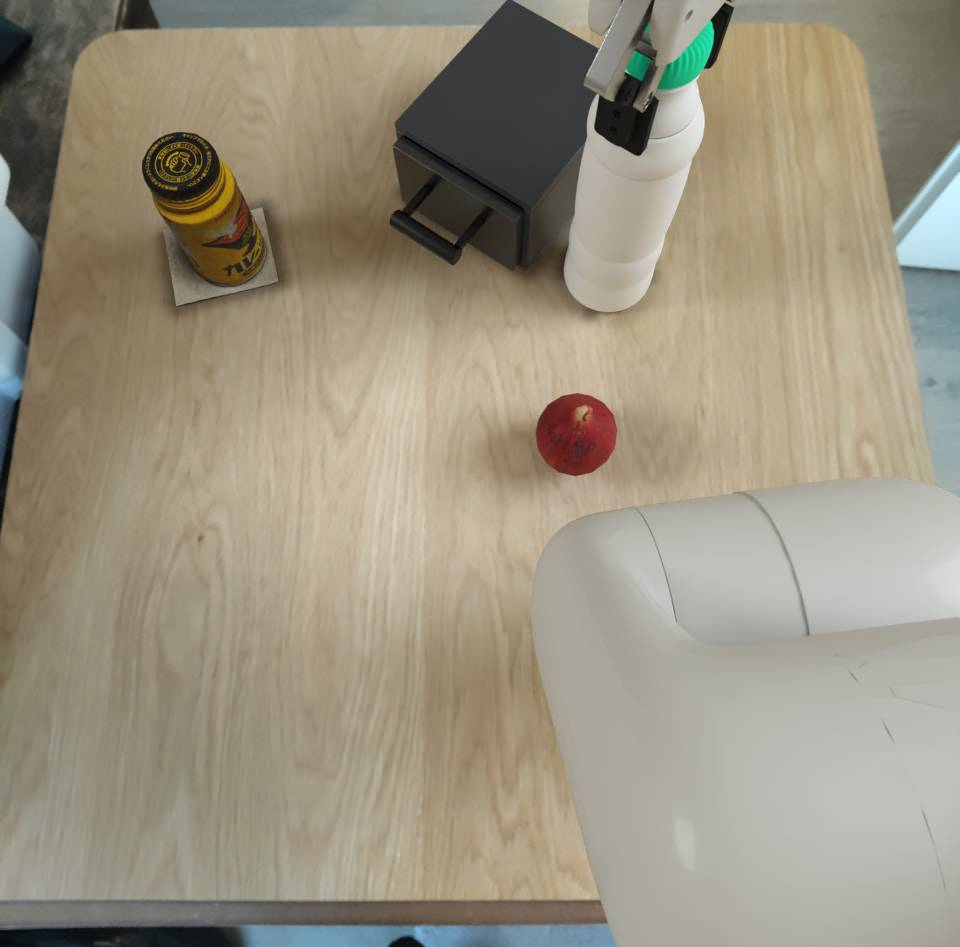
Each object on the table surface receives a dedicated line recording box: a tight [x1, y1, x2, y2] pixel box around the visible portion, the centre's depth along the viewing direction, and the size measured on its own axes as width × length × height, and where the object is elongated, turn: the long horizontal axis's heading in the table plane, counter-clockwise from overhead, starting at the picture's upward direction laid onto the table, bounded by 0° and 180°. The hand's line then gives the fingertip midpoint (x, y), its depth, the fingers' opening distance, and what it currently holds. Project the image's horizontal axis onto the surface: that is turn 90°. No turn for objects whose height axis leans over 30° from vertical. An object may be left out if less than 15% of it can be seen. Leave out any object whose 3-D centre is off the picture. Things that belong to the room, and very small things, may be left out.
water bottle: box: [563, 21, 714, 313], centre depth 53 cm, size 7×7×25 cm
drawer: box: [388, 136, 524, 272], centre depth 63 cm, size 18×11×7 cm, turn 144°
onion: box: [535, 392, 618, 477], centre depth 57 cm, size 6×6×8 cm
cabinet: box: [394, 0, 600, 272], centre depth 64 cm, size 15×13×9 cm
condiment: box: [141, 131, 279, 307], centre depth 61 cm, size 7×8×12 cm
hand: (655, 95), depth 46 cm, fingers open, 6 cm apart
